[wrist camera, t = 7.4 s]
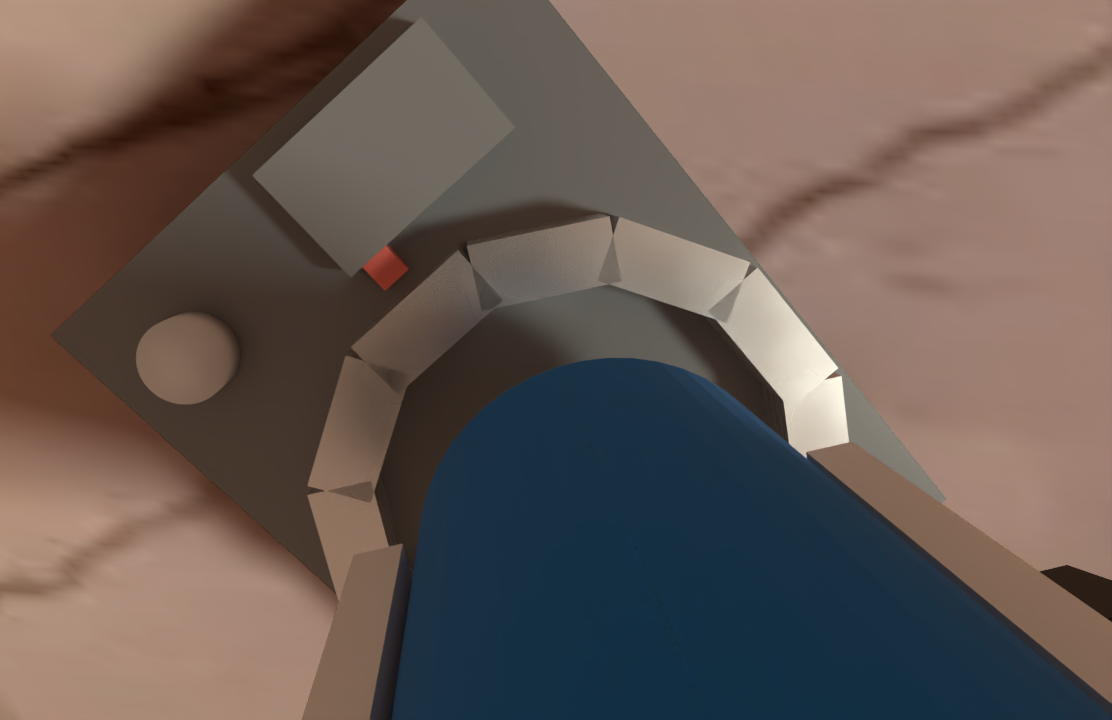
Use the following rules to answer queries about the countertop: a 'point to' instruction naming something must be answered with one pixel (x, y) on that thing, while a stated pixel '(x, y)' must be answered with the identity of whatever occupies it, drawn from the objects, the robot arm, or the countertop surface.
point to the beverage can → (682, 575)
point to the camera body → (405, 260)
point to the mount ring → (534, 273)
